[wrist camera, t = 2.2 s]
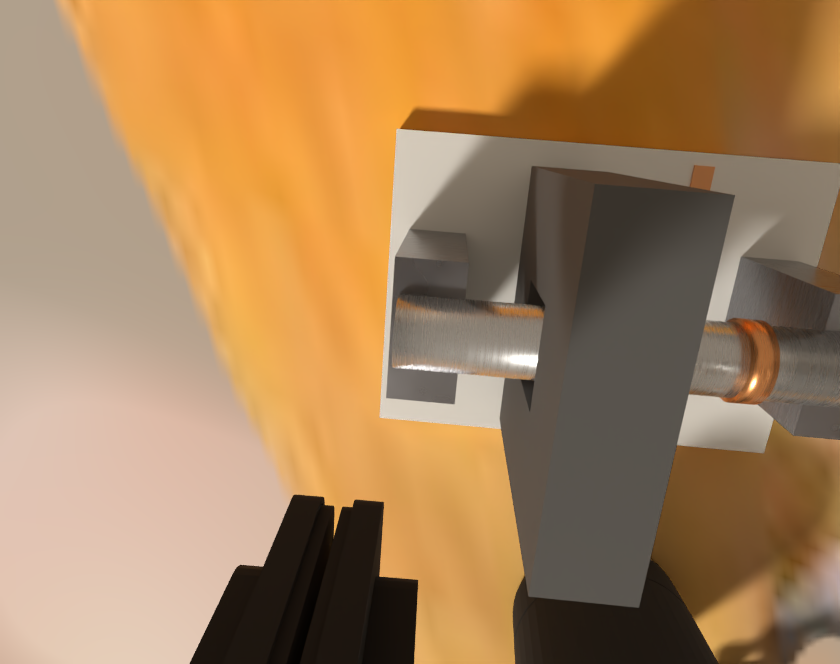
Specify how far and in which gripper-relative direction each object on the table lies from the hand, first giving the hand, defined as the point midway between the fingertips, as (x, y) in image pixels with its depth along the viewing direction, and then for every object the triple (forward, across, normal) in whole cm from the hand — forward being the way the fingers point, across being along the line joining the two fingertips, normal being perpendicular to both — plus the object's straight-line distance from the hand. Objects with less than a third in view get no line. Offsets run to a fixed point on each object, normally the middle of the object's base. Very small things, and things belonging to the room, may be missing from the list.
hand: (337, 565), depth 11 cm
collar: (+15, -6, -2) cm, 17 cm away
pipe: (+17, -8, -2) cm, 19 cm away
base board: (+17, -8, -2) cm, 19 cm away
